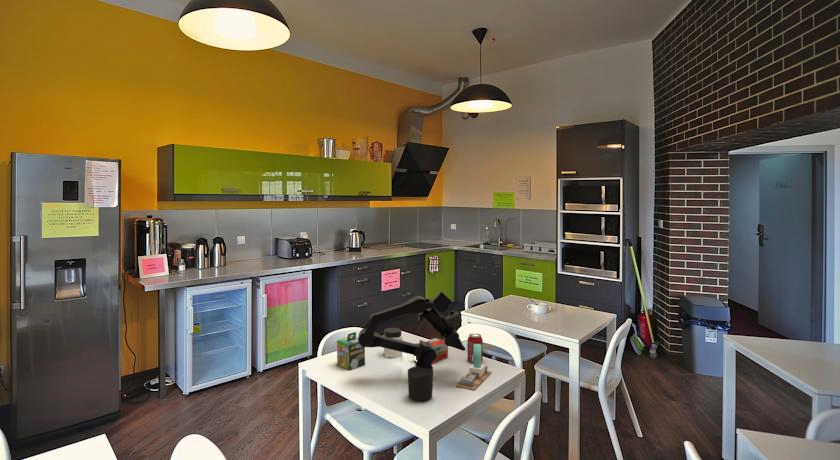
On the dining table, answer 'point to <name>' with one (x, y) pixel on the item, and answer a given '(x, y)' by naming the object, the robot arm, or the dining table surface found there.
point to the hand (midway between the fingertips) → (462, 346)
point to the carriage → (477, 361)
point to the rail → (477, 383)
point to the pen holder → (420, 384)
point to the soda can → (471, 341)
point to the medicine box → (439, 349)
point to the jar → (394, 334)
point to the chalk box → (350, 352)
